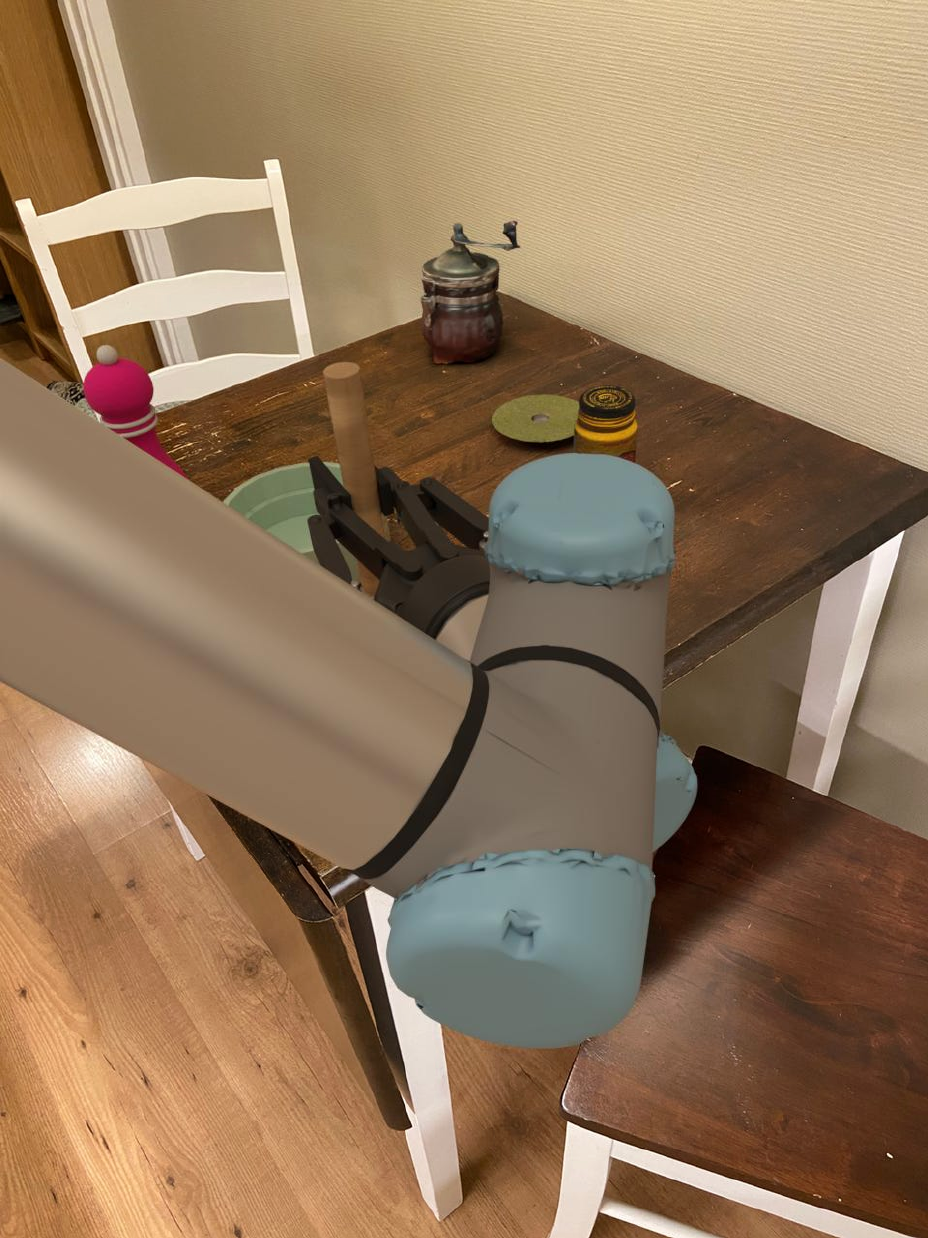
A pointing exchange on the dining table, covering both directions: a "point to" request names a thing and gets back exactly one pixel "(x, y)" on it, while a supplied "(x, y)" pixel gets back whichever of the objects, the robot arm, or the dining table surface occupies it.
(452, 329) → the coffee grinder
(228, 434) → the dining table surface
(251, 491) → the bowl
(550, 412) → the olive green flat disc
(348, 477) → the wooden post with base
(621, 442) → the condiment
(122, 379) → the pepper mill
